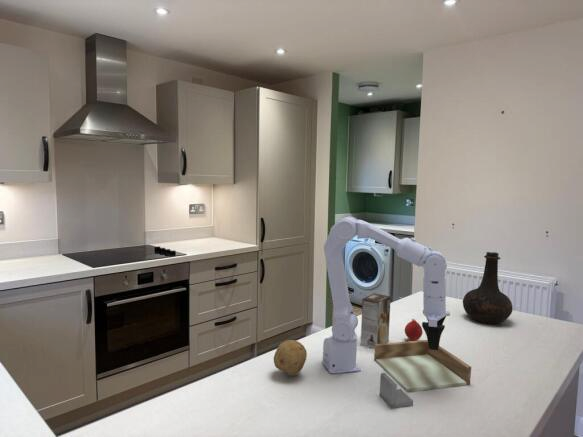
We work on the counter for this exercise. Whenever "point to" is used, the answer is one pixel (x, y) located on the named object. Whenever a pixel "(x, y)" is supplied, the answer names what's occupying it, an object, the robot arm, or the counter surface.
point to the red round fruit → (413, 330)
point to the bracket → (393, 393)
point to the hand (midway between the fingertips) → (434, 343)
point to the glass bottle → (488, 296)
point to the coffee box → (375, 320)
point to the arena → (421, 365)
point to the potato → (290, 357)
